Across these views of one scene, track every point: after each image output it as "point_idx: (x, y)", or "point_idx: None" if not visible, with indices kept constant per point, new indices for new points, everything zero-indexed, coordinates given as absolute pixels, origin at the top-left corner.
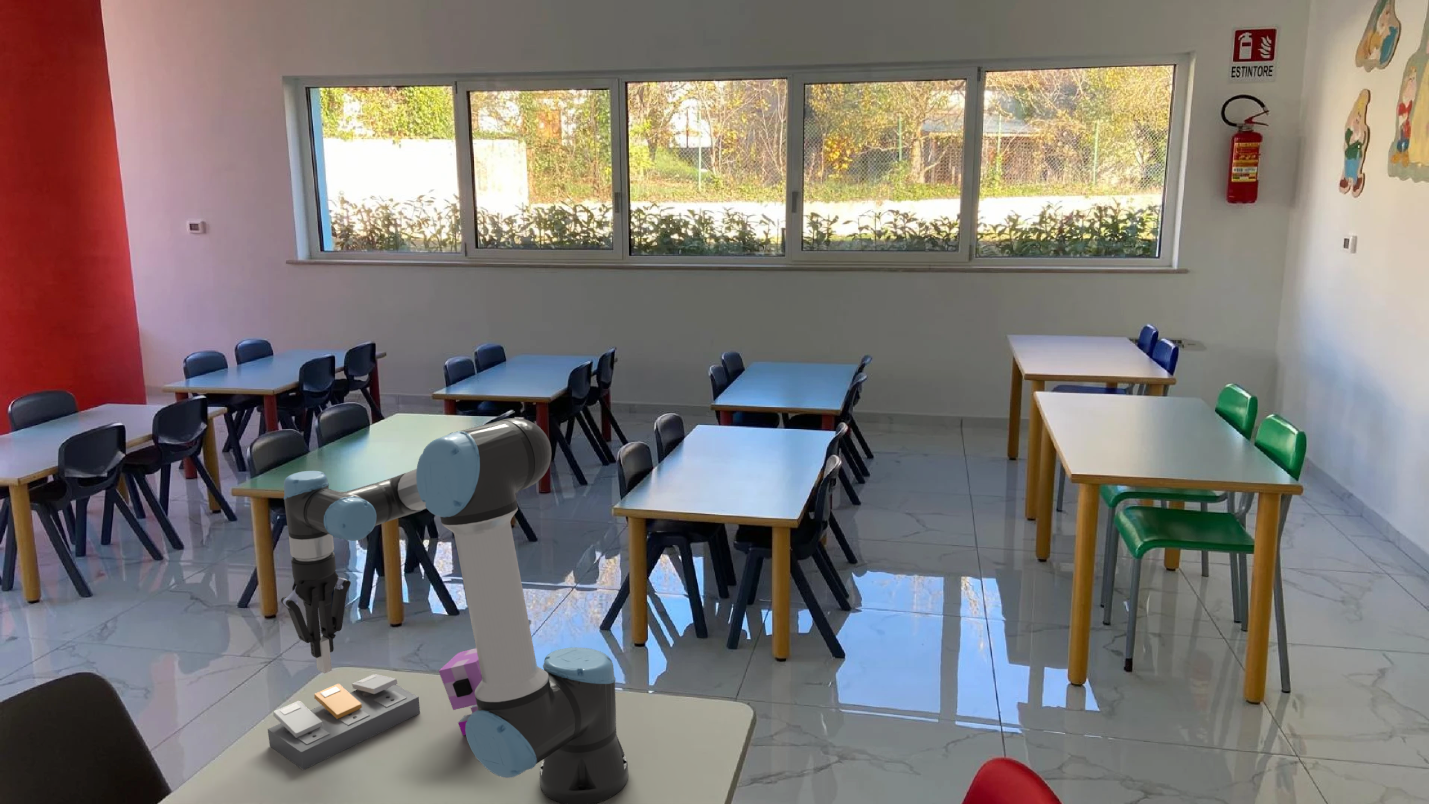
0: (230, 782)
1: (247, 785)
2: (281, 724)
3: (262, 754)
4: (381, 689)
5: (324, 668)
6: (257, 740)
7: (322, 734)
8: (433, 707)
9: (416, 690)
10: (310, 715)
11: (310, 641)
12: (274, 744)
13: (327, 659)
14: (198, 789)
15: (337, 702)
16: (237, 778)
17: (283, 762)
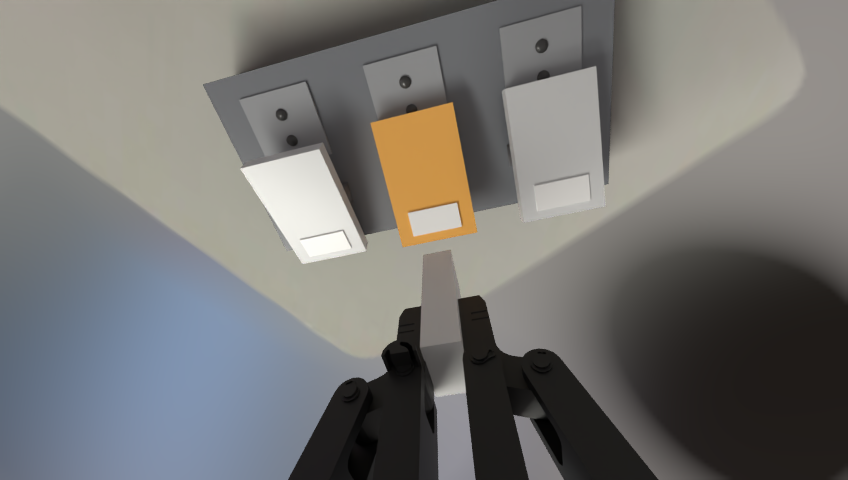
0: (736, 58)
1: (722, 8)
2: None
3: (614, 144)
4: (297, 150)
5: (449, 260)
6: (591, 211)
7: (518, 40)
8: (195, 89)
9: (231, 202)
10: (524, 136)
11: (526, 354)
12: None
13: (435, 280)
14: (798, 79)
15: (432, 162)
16: (714, 67)
17: None
